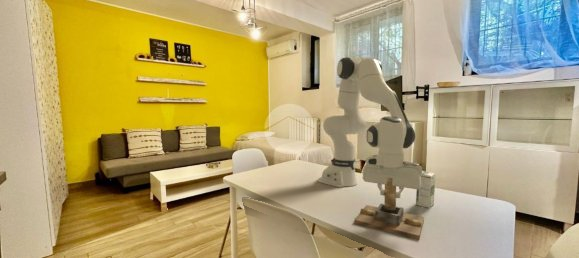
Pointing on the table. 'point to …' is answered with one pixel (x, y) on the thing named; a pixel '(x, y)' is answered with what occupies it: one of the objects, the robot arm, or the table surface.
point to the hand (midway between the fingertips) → (390, 196)
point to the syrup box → (426, 190)
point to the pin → (390, 195)
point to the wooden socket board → (391, 221)
